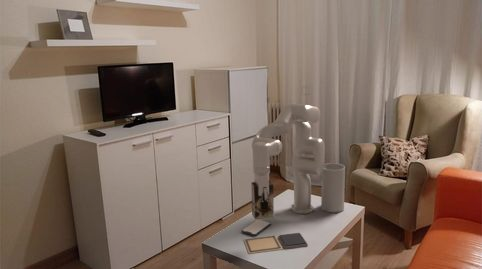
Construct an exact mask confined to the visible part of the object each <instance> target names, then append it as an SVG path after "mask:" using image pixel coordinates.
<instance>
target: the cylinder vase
mask: <svg viewBox="0 0 482 269" xmlns="http://www.w3.org/2000/svg"><path fill="white" fill-rule="evenodd" d="M345 175H346V166H345V165H344V164H342V163H337V162H329V163H328V162H327V163H324V170H323V173H322V174H321V198H320V199H321V209H322V210H323V211H325V212H328V213H340V212H342V211H344V209H345V189H346V188H345V185H346V184H345V182H346V176H345Z"/></svg>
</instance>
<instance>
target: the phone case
mask: <svg viewBox="0 0 482 269" xmlns="http://www.w3.org/2000/svg"><path fill="white" fill-rule="evenodd" d="M271 224H272V223H271V222H270V221H266V220H263V219H257V220H254V221H253V222H251V223H250V224H249V225H247V226H246V227H244V228H243V229H241V233H242V234H244V235H247V236H250V237H252V238H257V237H258V236H259V235H260V234H261V233H262V232H264V231H265V230H267V228H269V227H270V226H271Z"/></svg>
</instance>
